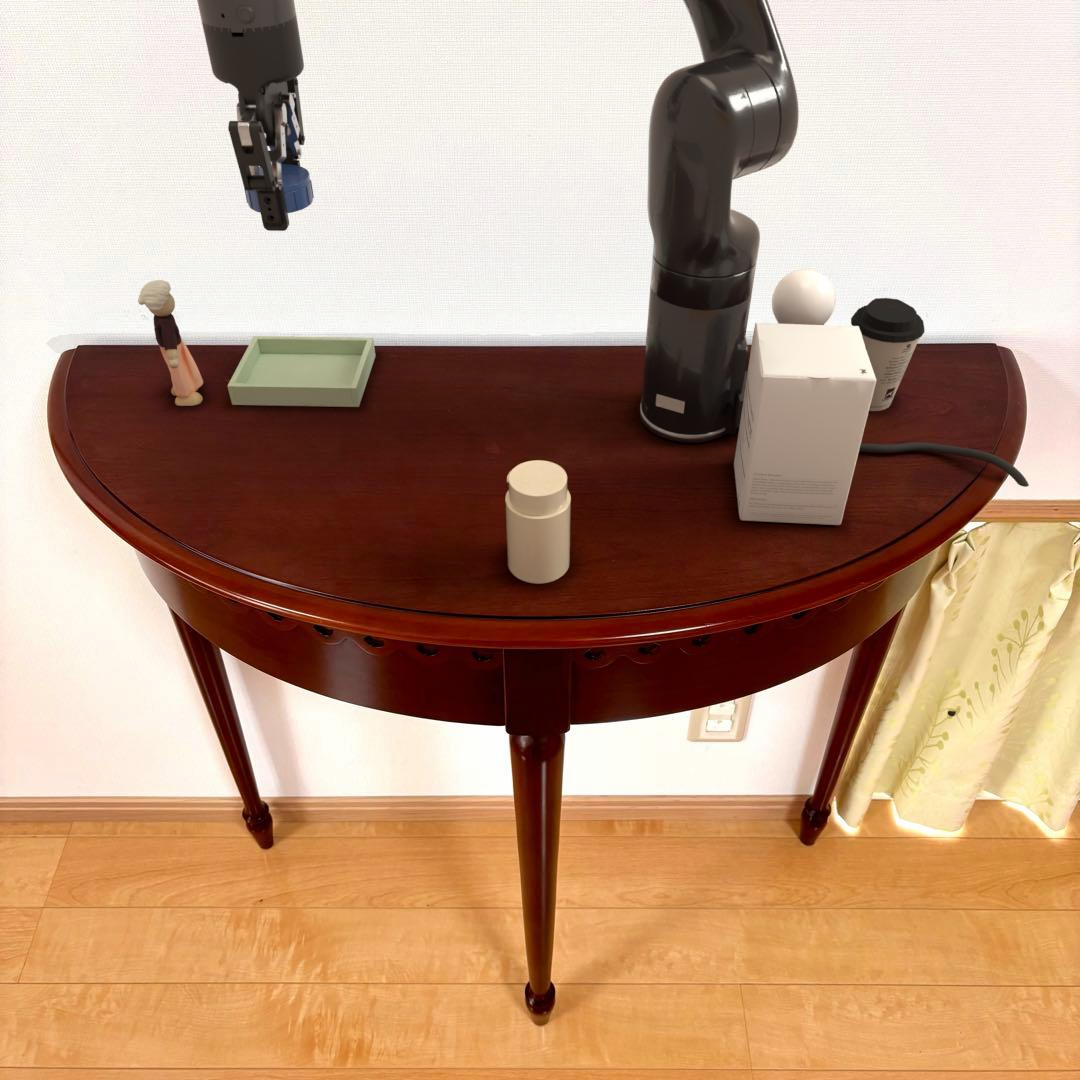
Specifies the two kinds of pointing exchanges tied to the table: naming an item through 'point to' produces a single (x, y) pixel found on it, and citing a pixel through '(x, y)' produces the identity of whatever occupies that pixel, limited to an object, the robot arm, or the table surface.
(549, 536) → the jar
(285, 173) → the lid
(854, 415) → the rectangular carton
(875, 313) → the coffee cup
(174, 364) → the grandmother figurine
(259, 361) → the tray
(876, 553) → the table surface
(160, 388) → the table surface
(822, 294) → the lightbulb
